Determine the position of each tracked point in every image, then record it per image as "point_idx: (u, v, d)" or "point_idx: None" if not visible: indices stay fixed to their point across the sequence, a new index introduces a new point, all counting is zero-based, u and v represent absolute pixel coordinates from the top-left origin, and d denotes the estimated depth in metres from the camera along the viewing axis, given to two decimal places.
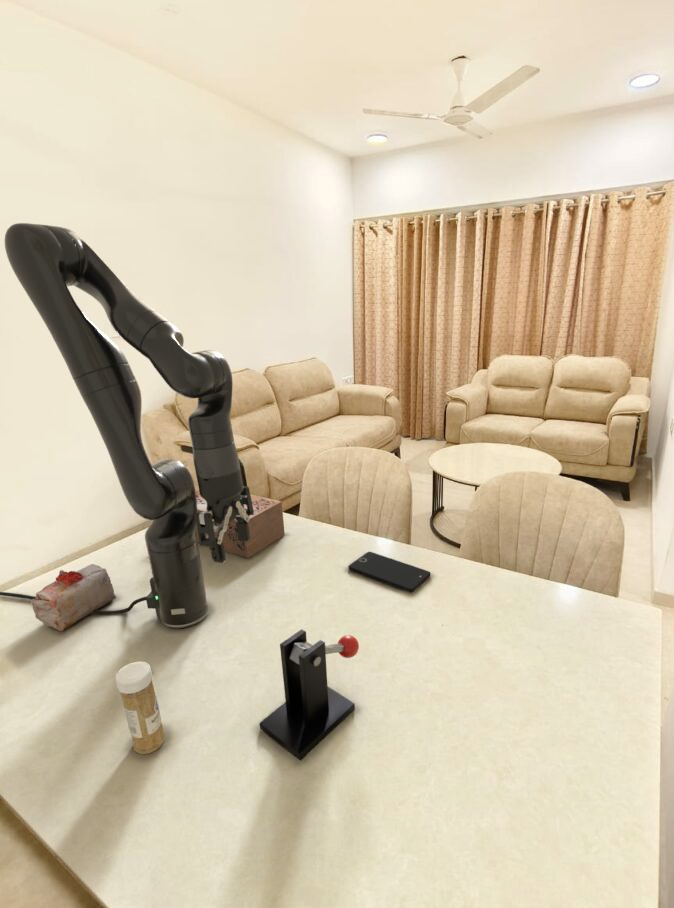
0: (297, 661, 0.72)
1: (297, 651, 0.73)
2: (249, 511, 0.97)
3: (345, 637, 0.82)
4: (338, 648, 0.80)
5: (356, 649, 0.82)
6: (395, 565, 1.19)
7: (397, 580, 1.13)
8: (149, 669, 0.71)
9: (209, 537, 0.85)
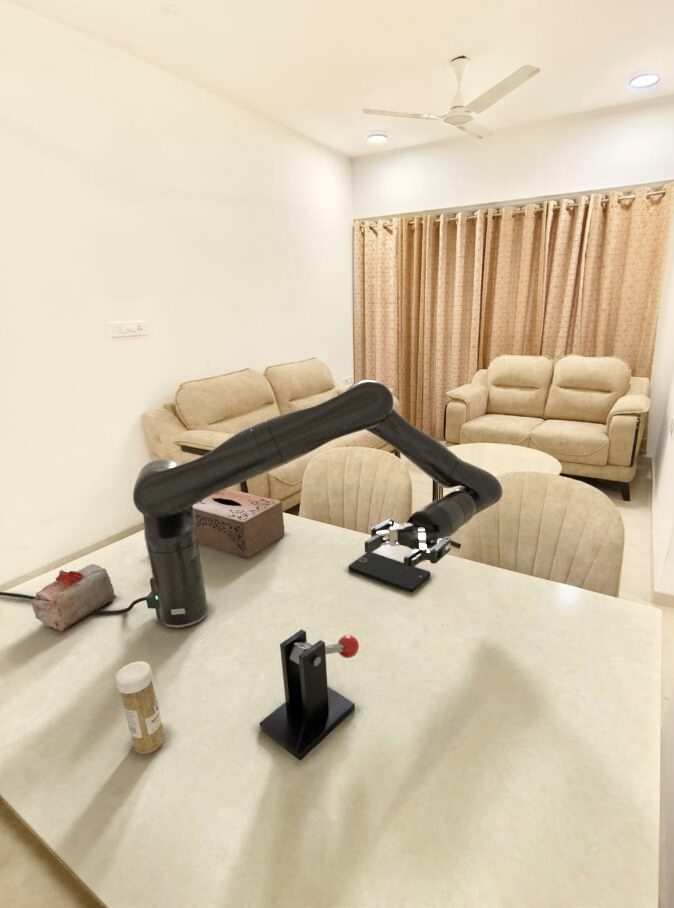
0: (297, 661, 0.72)
1: (297, 651, 0.73)
2: None
3: (345, 637, 0.82)
4: (338, 648, 0.80)
5: (356, 649, 0.82)
6: (395, 565, 1.19)
7: (397, 580, 1.13)
8: (149, 669, 0.71)
9: (439, 558, 0.86)
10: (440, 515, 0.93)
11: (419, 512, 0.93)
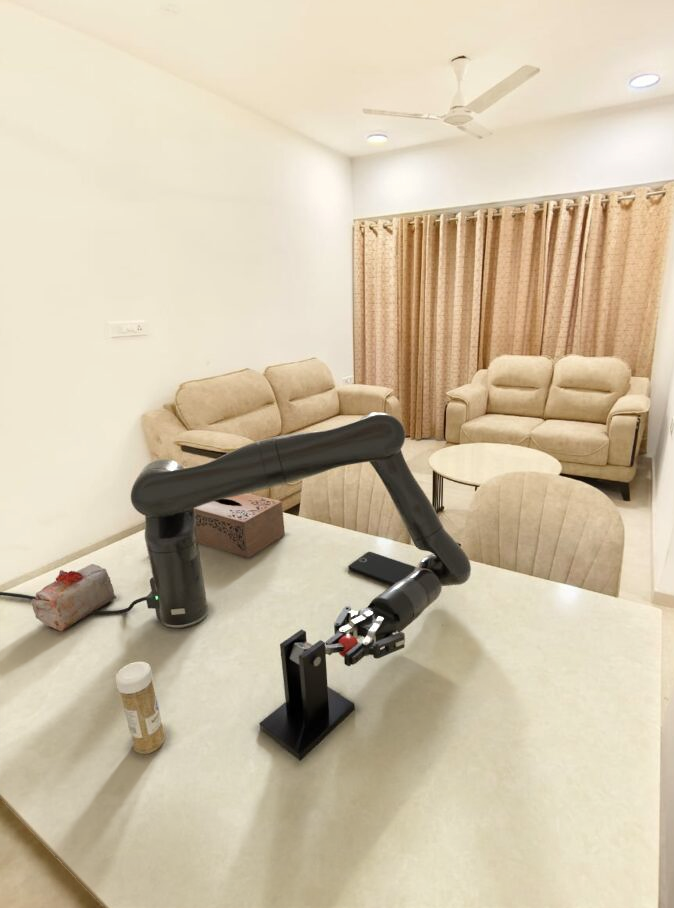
0: (297, 661, 0.72)
1: (297, 651, 0.73)
2: None
3: (345, 637, 0.82)
4: (338, 648, 0.80)
5: None
6: (395, 565, 1.19)
7: (397, 580, 1.13)
8: (149, 669, 0.71)
9: (384, 654, 0.82)
10: (401, 602, 0.89)
11: (380, 599, 0.89)
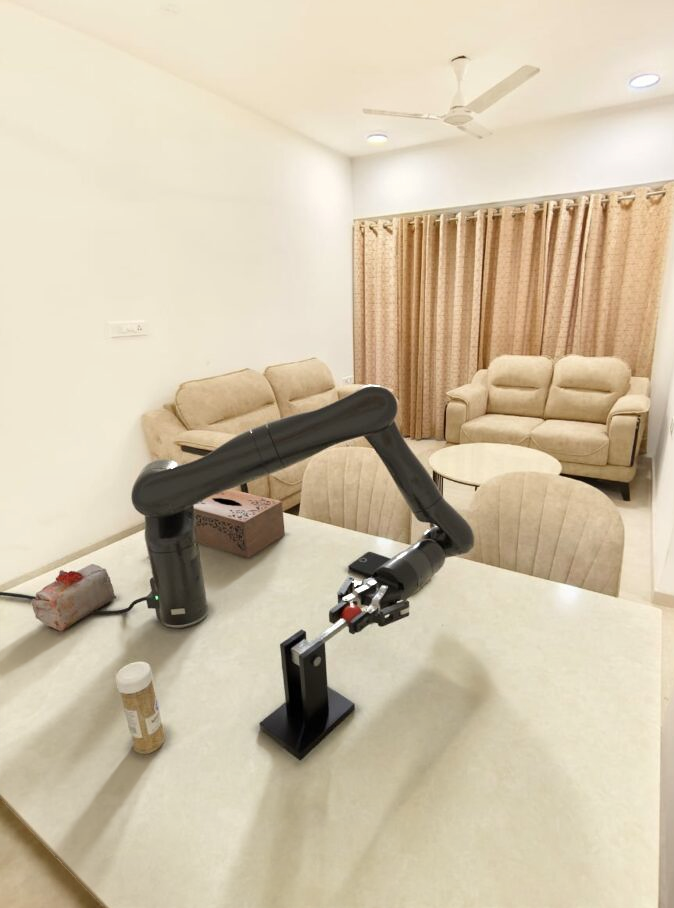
0: None
1: (296, 656, 0.73)
2: None
3: (346, 610, 0.81)
4: (341, 626, 0.79)
5: None
6: None
7: None
8: (149, 669, 0.71)
9: (389, 622, 0.81)
10: (405, 571, 0.88)
11: (383, 568, 0.88)
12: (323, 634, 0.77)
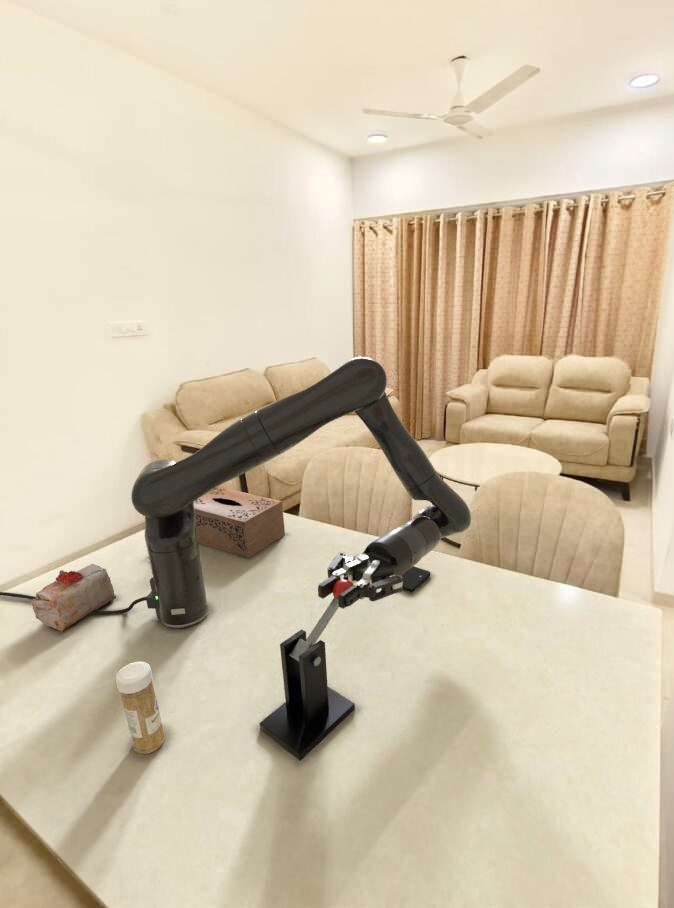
0: None
1: (296, 660, 0.73)
2: None
3: (335, 590, 0.77)
4: (334, 609, 0.77)
5: None
6: None
7: None
8: (149, 669, 0.71)
9: (381, 597, 0.77)
10: (398, 546, 0.84)
11: (375, 543, 0.84)
12: (318, 625, 0.75)
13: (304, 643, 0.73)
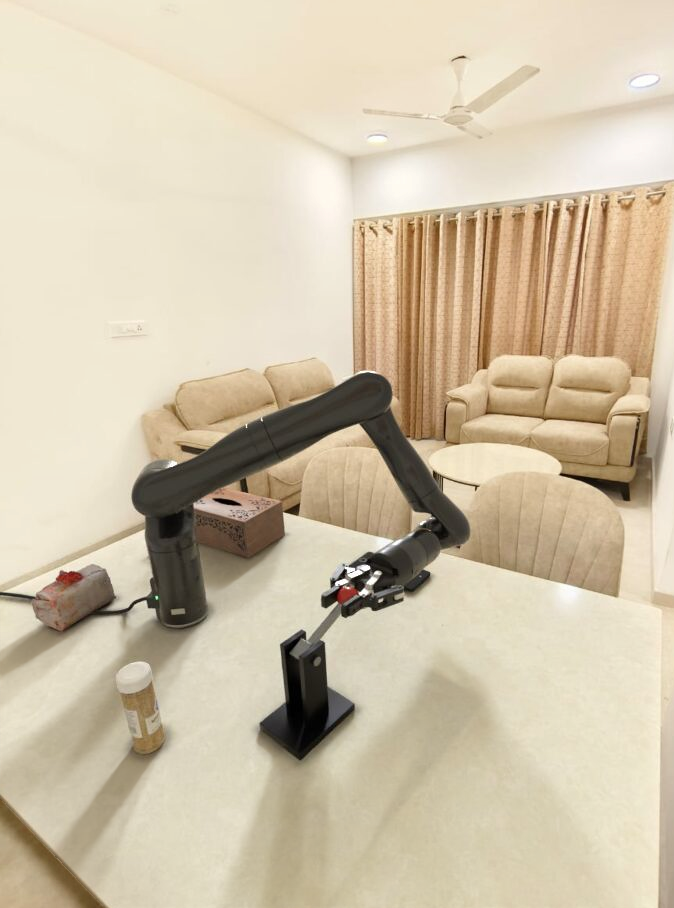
0: None
1: (296, 659, 0.73)
2: None
3: (340, 595, 0.79)
4: (337, 614, 0.78)
5: None
6: None
7: None
8: (149, 669, 0.71)
9: (382, 607, 0.78)
10: (400, 557, 0.85)
11: (377, 554, 0.86)
12: (320, 627, 0.76)
13: (305, 642, 0.74)
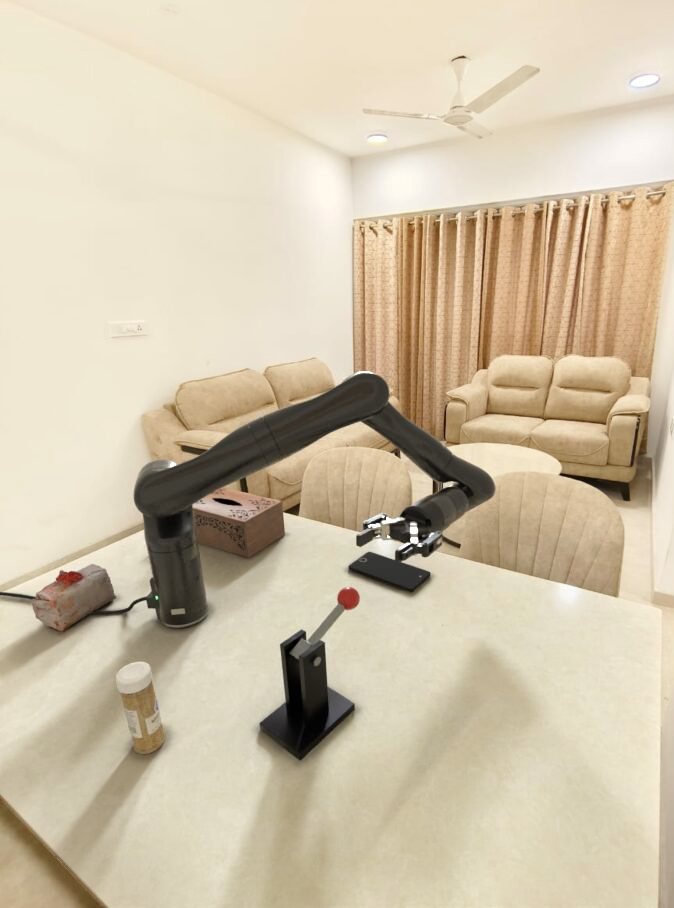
0: None
1: (296, 659, 0.73)
2: None
3: (340, 596, 0.79)
4: (337, 614, 0.78)
5: (356, 601, 0.79)
6: (395, 565, 1.19)
7: (397, 580, 1.13)
8: (149, 669, 0.71)
9: (431, 552, 0.86)
10: (432, 510, 0.92)
11: (411, 506, 0.93)
12: (320, 627, 0.76)
13: (306, 642, 0.74)
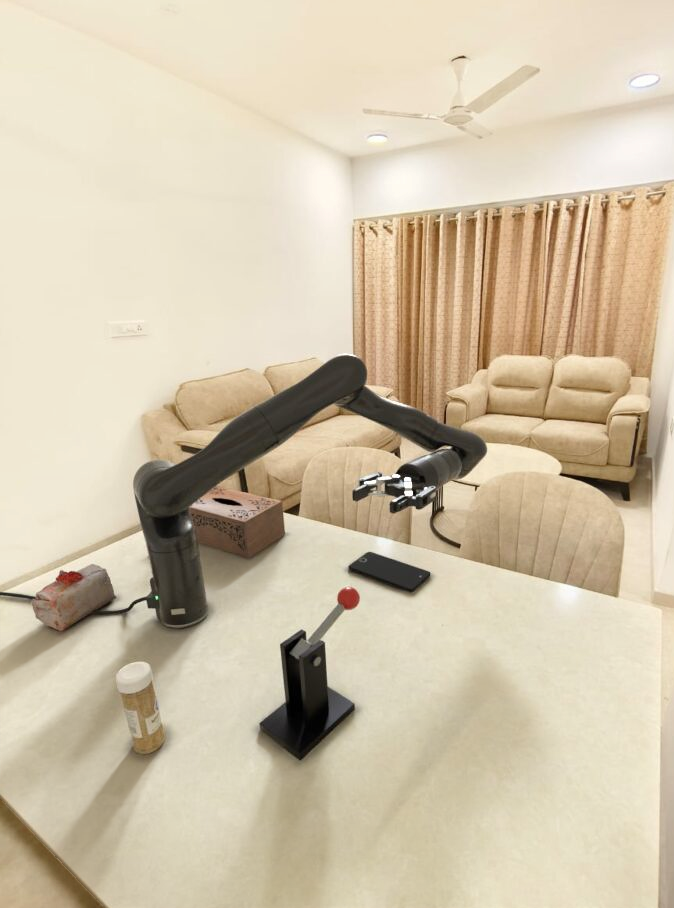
0: None
1: (296, 659, 0.73)
2: None
3: (340, 596, 0.79)
4: (337, 614, 0.78)
5: (356, 601, 0.79)
6: (395, 565, 1.19)
7: (397, 580, 1.13)
8: (149, 669, 0.71)
9: (424, 505, 0.89)
10: (426, 467, 0.95)
11: (406, 464, 0.96)
12: (320, 627, 0.76)
13: (306, 642, 0.74)
